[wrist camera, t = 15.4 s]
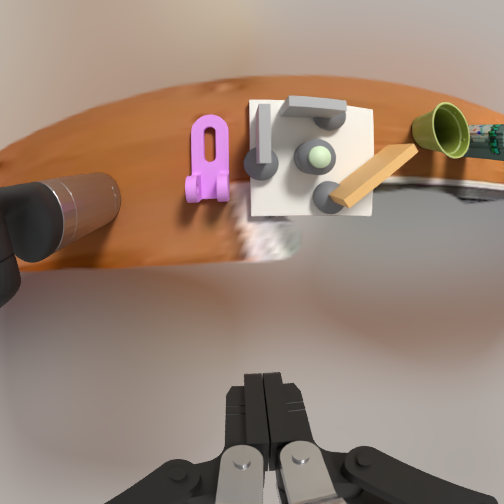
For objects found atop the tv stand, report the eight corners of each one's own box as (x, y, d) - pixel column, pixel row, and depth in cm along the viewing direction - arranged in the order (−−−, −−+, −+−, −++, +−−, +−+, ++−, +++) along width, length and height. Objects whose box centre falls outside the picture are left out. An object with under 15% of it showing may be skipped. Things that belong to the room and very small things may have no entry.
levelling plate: (244, 214, 44) (245, 228, 35) (242, 99, 38) (243, 81, 29) (367, 214, 44) (395, 227, 35) (368, 108, 39) (397, 98, 30)
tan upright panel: (324, 218, 43) (342, 230, 35) (306, 193, 41) (321, 200, 34) (396, 161, 40) (423, 162, 33) (381, 136, 39) (407, 132, 31)
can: (455, 121, 39) (508, 118, 25) (470, 143, 40) (521, 146, 26) (444, 139, 40) (499, 140, 26) (459, 162, 42) (512, 168, 27)
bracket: (229, 197, 43) (227, 203, 36) (194, 198, 43) (186, 204, 36) (228, 115, 39) (226, 106, 32) (192, 117, 39) (184, 109, 32)
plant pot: (421, 99, 38) (449, 92, 30) (447, 139, 40) (476, 138, 32) (395, 125, 40) (423, 121, 32) (423, 166, 42) (452, 170, 34)
